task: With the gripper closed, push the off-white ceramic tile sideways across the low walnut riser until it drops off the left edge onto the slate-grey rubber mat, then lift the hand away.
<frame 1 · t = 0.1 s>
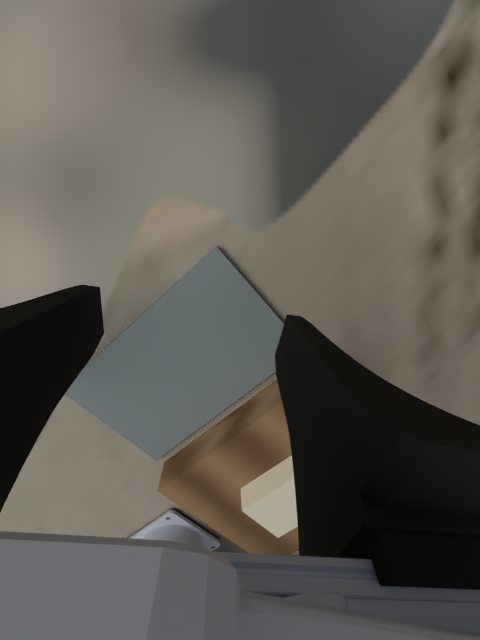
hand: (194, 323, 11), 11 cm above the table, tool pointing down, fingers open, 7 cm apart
mat: (182, 367, 23), on the table
tile: (287, 483, 25), point 3 cm above the table, touching riser
riser: (284, 459, 28), on the table
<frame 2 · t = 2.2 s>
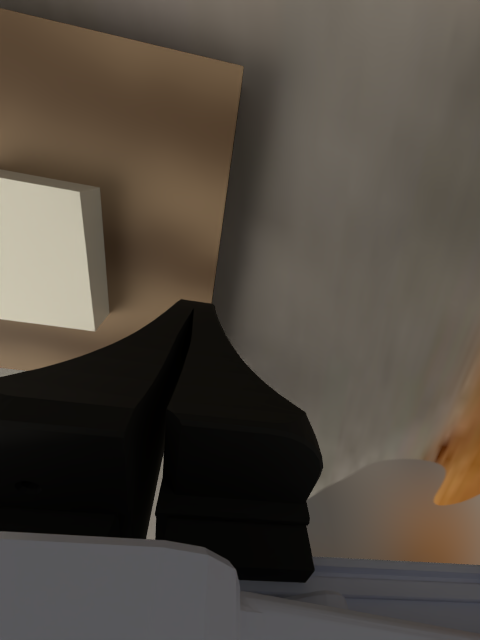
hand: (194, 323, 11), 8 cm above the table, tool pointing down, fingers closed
tile: (56, 250, 15), point 3 cm above the table, touching riser
riser: (91, 237, 17), on the table
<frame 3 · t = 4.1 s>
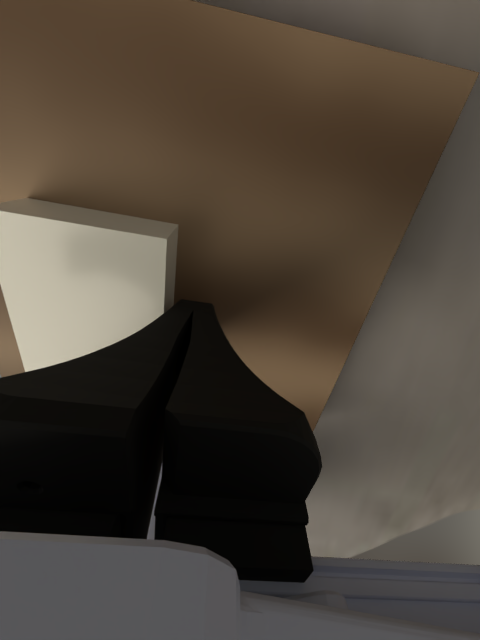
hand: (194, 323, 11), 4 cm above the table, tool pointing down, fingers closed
tile: (110, 301, 11), point 3 cm above the table, touching gripper
riser: (186, 282, 14), on the table
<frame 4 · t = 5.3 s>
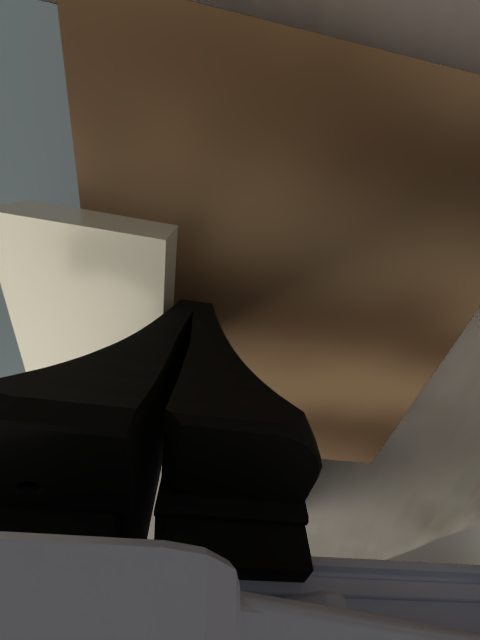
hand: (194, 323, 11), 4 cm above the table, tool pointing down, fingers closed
tile: (110, 302, 11), point 3 cm above the table, touching gripper
riser: (274, 295, 14), on the table
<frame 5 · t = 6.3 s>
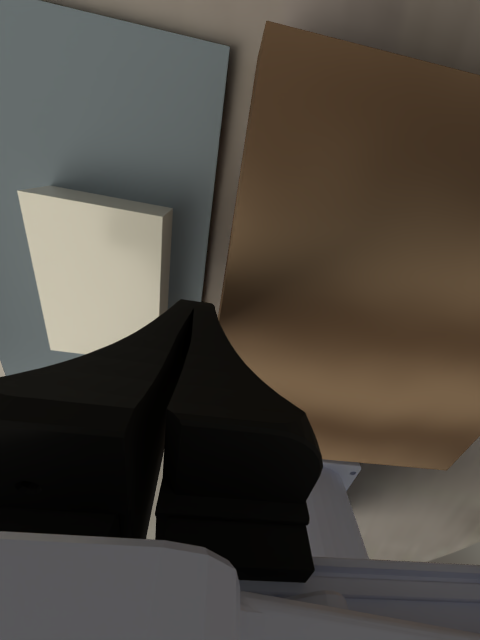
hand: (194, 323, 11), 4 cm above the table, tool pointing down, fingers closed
mat: (91, 268, 14), on the table
tile: (99, 291, 12), point 2 cm above the table, tilted 180°, touching mat
riser: (367, 310, 15), on the table
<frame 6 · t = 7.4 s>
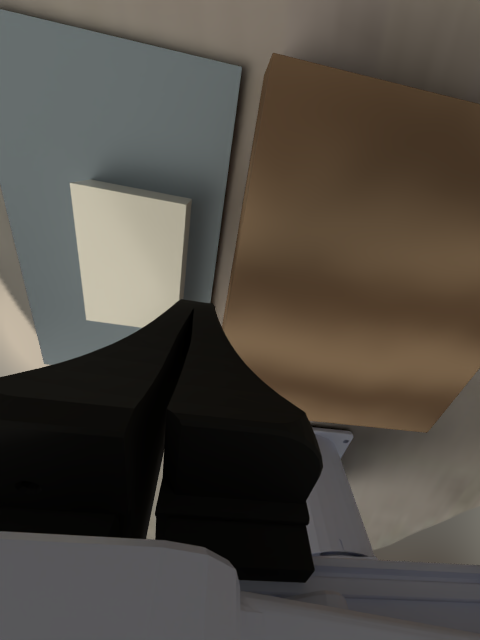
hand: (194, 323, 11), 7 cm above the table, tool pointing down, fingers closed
mat: (120, 251, 16), on the table
tile: (130, 268, 14), point 2 cm above the table, tilted 180°, touching mat
riser: (356, 288, 17), on the table
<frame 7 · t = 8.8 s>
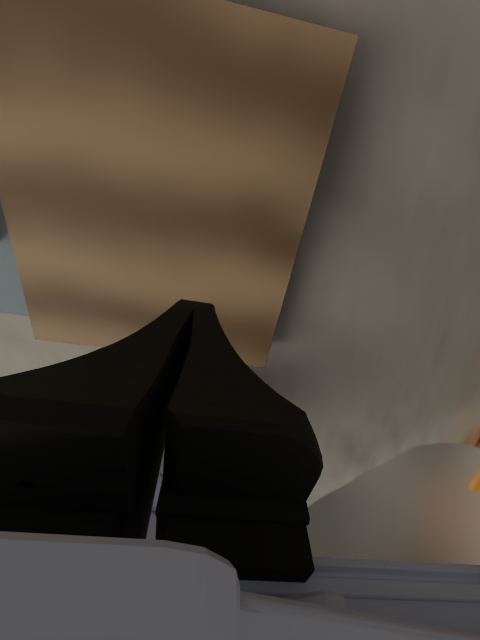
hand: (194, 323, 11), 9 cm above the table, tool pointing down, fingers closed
riser: (168, 214, 18), on the table
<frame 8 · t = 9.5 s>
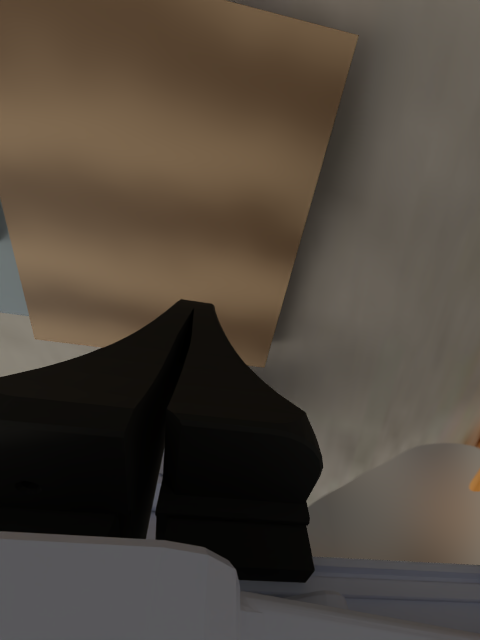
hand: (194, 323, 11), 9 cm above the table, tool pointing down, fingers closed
riser: (168, 214, 18), on the table
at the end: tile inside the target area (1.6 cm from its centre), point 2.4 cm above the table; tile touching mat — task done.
